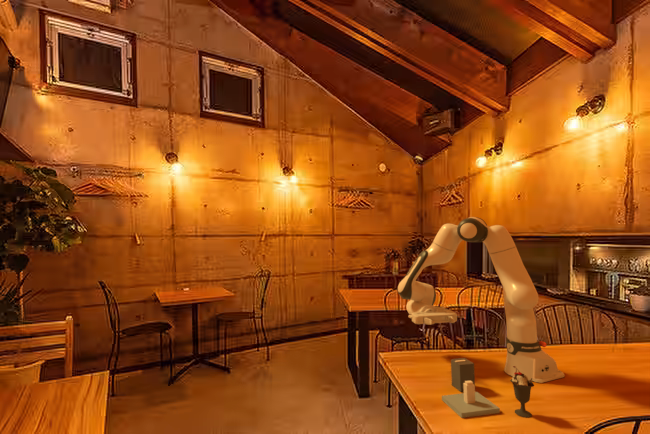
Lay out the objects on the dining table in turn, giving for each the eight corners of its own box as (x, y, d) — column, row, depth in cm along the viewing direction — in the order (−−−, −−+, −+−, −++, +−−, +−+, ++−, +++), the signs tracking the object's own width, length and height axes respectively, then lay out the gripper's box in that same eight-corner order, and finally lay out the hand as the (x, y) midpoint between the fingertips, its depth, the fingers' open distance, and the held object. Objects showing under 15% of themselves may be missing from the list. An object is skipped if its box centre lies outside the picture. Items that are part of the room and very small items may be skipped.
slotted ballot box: (465, 383, 132) (464, 357, 133) (475, 390, 127) (473, 362, 127) (451, 385, 131) (450, 358, 132) (460, 392, 125) (459, 364, 126)
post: (477, 395, 122) (476, 372, 123) (499, 412, 110) (498, 387, 111) (442, 400, 120) (441, 376, 120) (461, 417, 108) (460, 391, 108)
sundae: (507, 409, 113) (505, 363, 114) (525, 407, 113) (523, 362, 114) (520, 419, 106) (517, 371, 107) (539, 418, 107) (537, 370, 108)
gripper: (406, 308, 155) (420, 315, 141) (446, 306, 159) (464, 313, 145) (406, 322, 154) (420, 330, 141) (447, 319, 158) (464, 327, 145)
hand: (443, 321), depth 143 cm, fingers open, 8 cm apart
